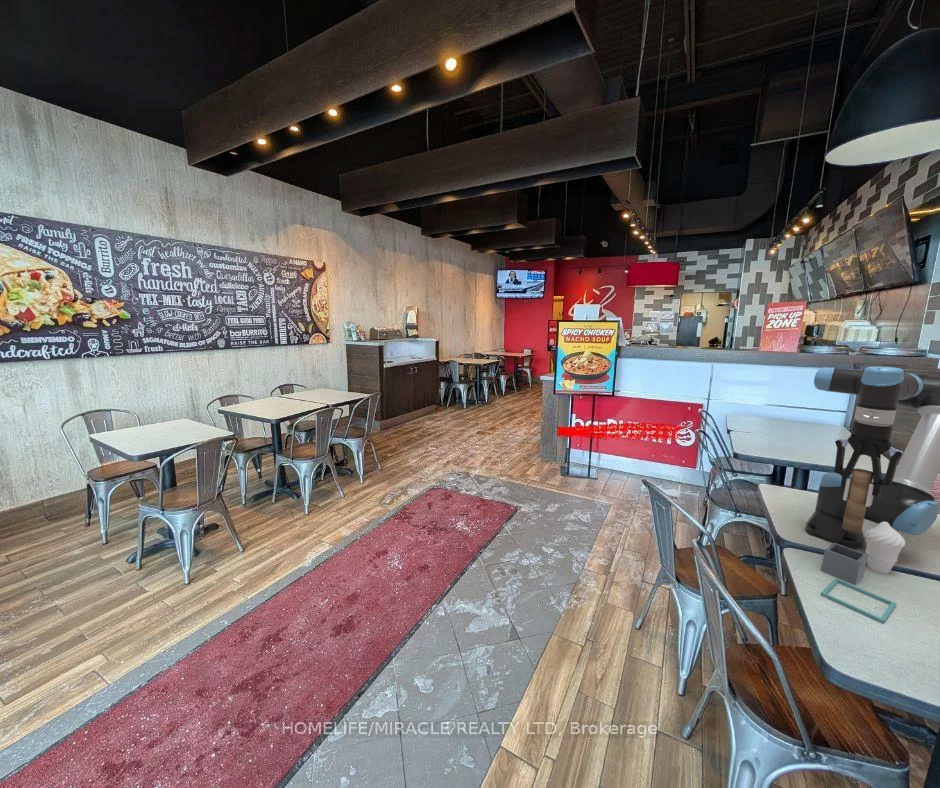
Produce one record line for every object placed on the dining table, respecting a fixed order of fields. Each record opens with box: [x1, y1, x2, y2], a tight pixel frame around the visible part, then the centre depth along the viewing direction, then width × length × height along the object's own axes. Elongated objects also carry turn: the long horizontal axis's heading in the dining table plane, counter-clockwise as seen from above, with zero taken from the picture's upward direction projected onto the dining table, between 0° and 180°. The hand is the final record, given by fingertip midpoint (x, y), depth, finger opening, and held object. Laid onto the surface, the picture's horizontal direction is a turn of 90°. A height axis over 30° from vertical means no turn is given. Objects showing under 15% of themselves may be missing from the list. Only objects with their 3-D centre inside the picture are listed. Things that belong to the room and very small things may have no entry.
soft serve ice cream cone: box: [864, 522, 906, 575], centre depth 115 cm, size 8×8×16 cm
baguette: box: [842, 468, 873, 534], centre depth 110 cm, size 4×4×18 cm
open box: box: [820, 542, 868, 587], centre depth 113 cm, size 8×8×8 cm
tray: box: [819, 577, 897, 625], centre depth 102 cm, size 12×12×2 cm
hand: (857, 502), depth 110 cm, fingers closed on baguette, 4 cm apart
